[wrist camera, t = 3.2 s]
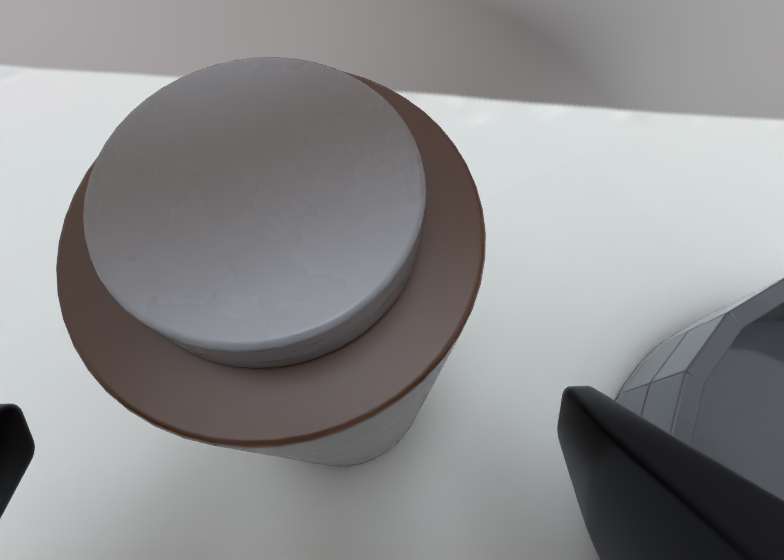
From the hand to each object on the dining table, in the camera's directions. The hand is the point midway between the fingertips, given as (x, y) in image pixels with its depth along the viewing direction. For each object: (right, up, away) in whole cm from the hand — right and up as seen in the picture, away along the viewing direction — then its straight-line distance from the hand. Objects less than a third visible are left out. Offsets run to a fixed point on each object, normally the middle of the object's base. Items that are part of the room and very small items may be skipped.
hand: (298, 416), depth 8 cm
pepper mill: (0, -1, +10) cm, 10 cm away
